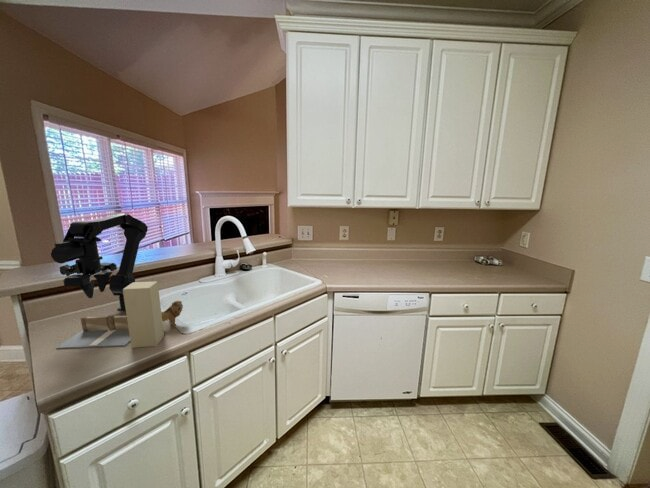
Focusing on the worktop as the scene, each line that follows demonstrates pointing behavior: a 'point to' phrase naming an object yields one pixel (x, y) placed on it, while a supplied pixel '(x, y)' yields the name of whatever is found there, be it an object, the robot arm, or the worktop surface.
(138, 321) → the toy refrigerator
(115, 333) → the board
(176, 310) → the lion figurine
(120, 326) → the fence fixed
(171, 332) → the worktop surface
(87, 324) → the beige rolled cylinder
